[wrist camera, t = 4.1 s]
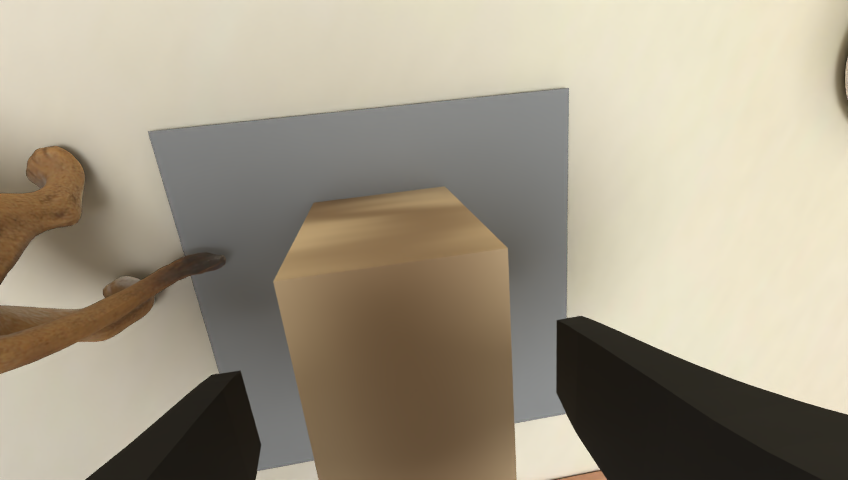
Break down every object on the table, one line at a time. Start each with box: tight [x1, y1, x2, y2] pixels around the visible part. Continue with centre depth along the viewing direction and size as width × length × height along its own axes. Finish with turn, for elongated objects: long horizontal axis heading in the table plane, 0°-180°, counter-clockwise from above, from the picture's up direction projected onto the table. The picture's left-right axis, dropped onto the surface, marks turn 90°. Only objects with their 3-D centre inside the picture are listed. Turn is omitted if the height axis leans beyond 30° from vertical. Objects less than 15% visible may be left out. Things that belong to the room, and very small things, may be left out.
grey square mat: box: [148, 88, 569, 471], centre depth 14 cm, size 12×12×1 cm
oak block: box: [273, 186, 516, 480], centre depth 11 cm, size 4×7×6 cm, turn 6°
